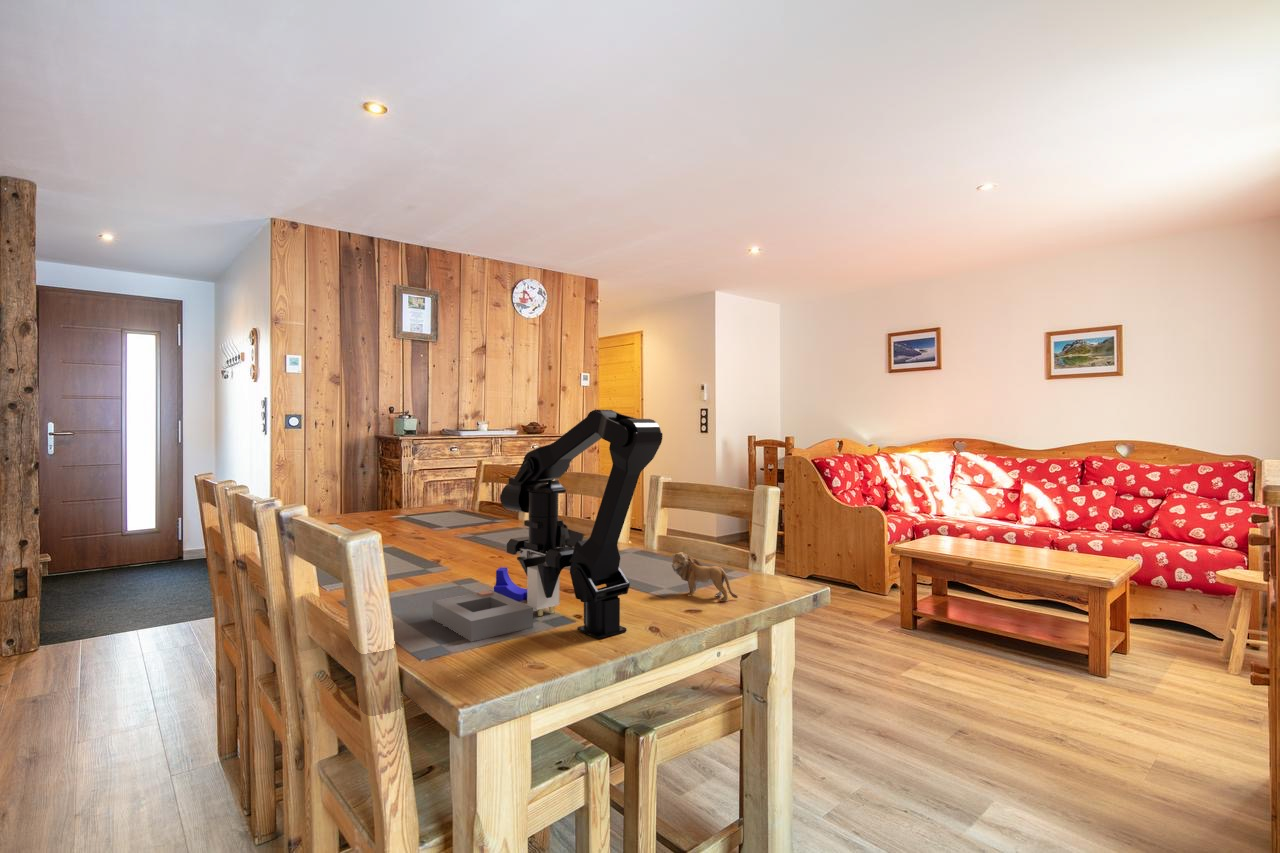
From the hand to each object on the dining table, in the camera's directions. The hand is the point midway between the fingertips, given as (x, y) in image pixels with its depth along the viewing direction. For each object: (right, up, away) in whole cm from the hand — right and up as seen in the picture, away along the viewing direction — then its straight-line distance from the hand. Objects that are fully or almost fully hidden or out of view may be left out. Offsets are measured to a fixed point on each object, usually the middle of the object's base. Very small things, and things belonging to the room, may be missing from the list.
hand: (543, 595), depth 123 cm
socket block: (-10, -3, -6) cm, 13 cm away
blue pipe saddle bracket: (-5, -4, +11) cm, 13 cm away
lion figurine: (+32, -4, +12) cm, 34 cm away
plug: (0, -3, 0) cm, 3 cm away
